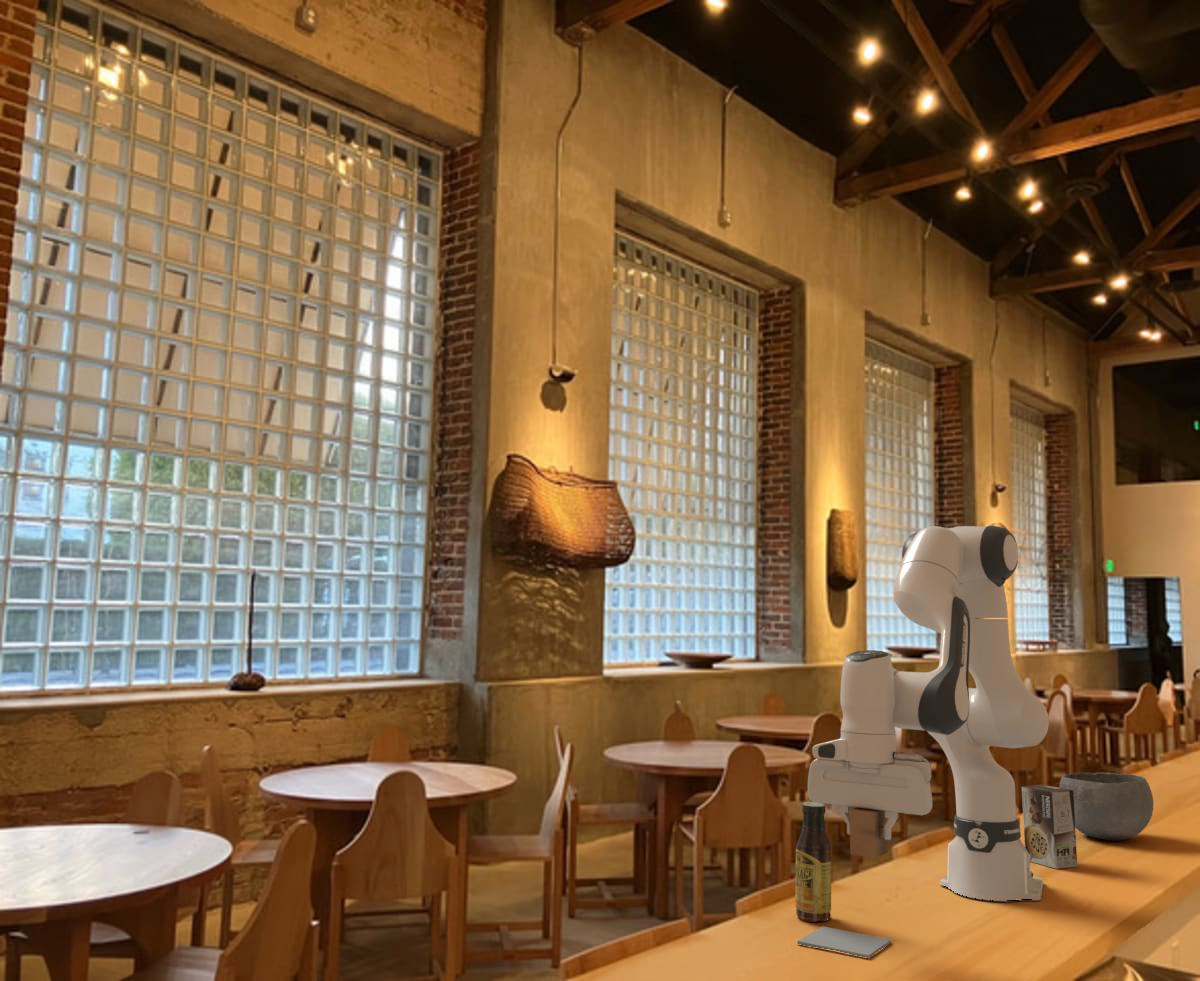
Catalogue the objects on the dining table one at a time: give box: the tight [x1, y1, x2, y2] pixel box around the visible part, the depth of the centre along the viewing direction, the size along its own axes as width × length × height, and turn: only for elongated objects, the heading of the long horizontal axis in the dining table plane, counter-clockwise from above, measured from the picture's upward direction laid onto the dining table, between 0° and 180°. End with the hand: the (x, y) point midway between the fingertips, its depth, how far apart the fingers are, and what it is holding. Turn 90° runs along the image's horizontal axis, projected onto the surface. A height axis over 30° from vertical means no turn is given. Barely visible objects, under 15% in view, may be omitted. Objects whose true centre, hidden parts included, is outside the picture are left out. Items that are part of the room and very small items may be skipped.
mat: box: [797, 926, 892, 958], centre depth 169 cm, size 10×12×1 cm
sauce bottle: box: [794, 801, 832, 923], centre depth 184 cm, size 7×6×20 cm
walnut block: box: [849, 807, 889, 859], centre depth 169 cm, size 6×4×7 cm, turn 144°
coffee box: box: [1021, 784, 1078, 870], centre depth 226 cm, size 9×6×16 cm
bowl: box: [1058, 771, 1154, 841], centre depth 252 cm, size 20×20×15 cm
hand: (868, 837), depth 168 cm, fingers closed on walnut block, 4 cm apart
